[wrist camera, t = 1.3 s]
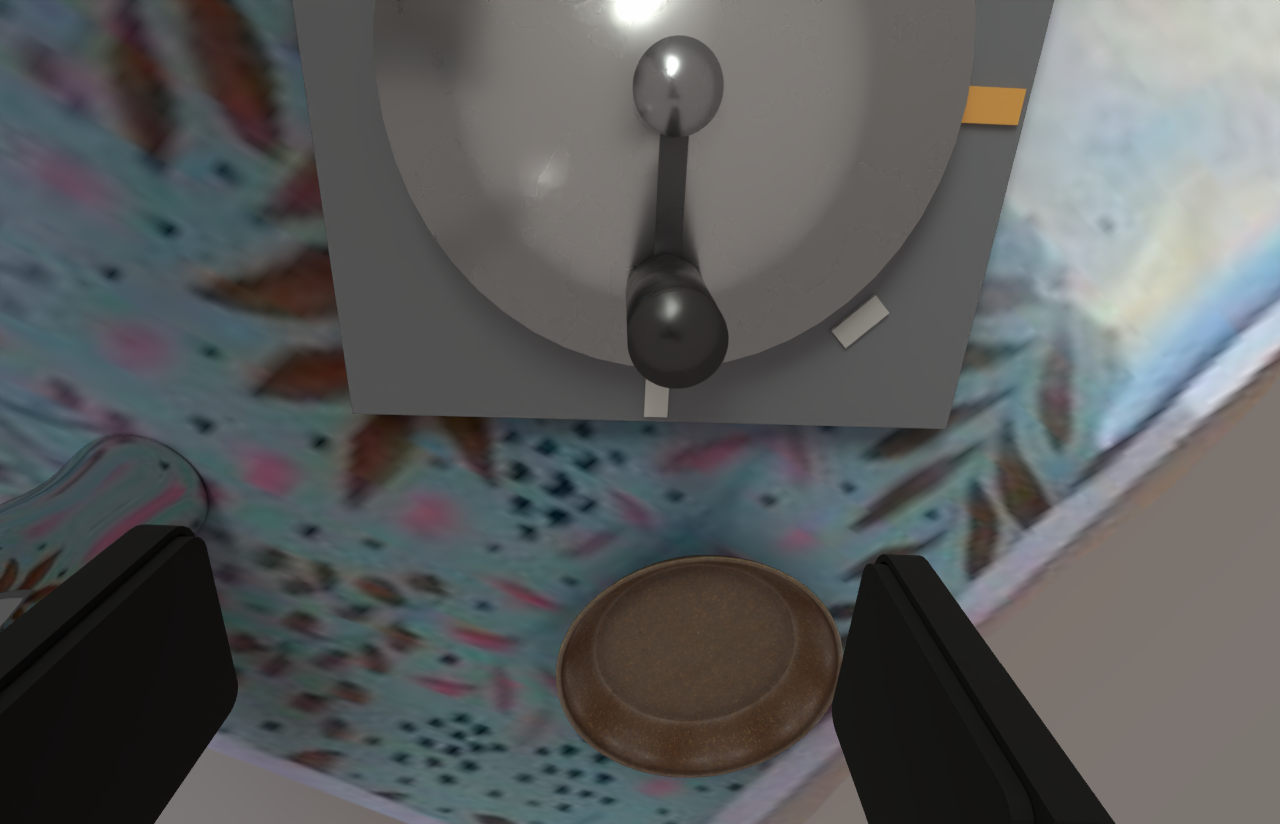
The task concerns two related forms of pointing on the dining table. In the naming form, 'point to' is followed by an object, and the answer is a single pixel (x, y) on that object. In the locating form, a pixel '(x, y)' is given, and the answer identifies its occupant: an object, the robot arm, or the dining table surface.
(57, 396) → the dining table surface
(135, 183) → the dining table surface
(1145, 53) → the dining table surface
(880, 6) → the dial
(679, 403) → the dial plate
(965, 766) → the robot arm
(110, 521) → the beer glass
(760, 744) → the saucer
